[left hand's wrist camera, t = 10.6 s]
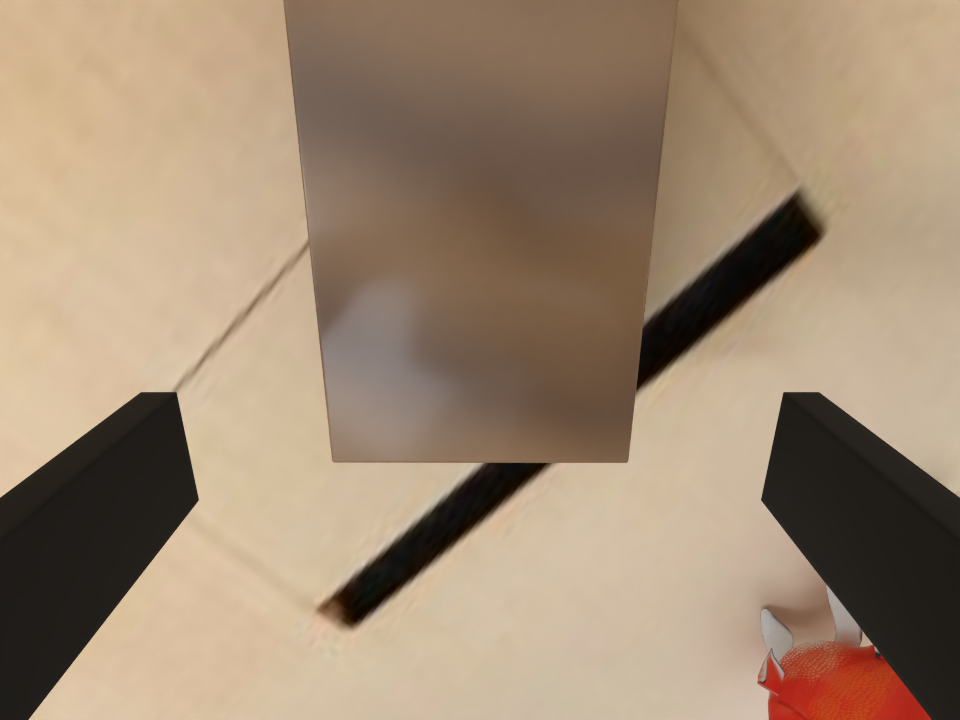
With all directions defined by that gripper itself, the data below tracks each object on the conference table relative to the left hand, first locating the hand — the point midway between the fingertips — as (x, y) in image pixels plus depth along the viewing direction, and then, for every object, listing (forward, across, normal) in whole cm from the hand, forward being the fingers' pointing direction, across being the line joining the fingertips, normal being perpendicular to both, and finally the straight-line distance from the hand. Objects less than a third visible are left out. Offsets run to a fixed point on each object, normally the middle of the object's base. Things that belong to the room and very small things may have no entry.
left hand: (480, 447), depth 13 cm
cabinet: (+14, 0, -6) cm, 15 cm away
